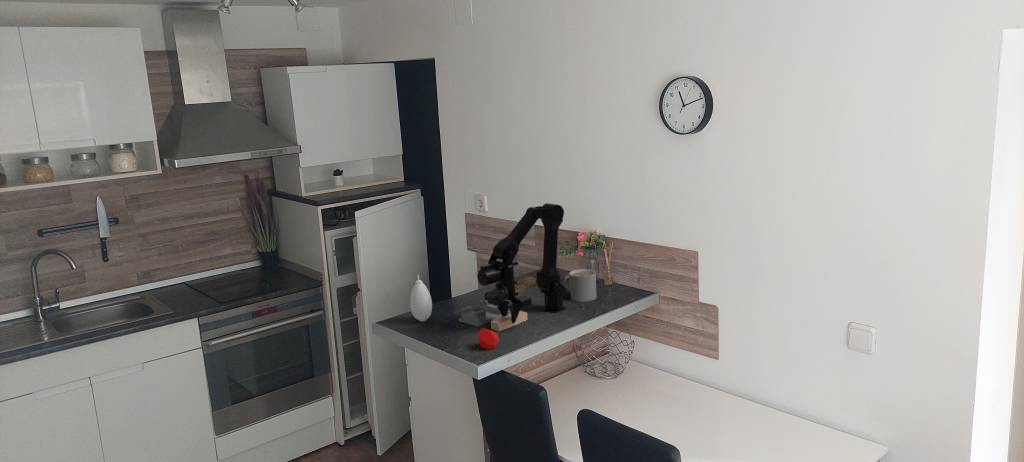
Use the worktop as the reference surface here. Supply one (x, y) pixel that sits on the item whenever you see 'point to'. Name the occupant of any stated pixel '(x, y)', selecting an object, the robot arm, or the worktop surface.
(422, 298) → the white air blower bulb
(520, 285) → the wooden fragment
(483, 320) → the grey cradle stand
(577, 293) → the coffee mug
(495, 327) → the clay bar
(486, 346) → the apple
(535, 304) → the worktop surface
